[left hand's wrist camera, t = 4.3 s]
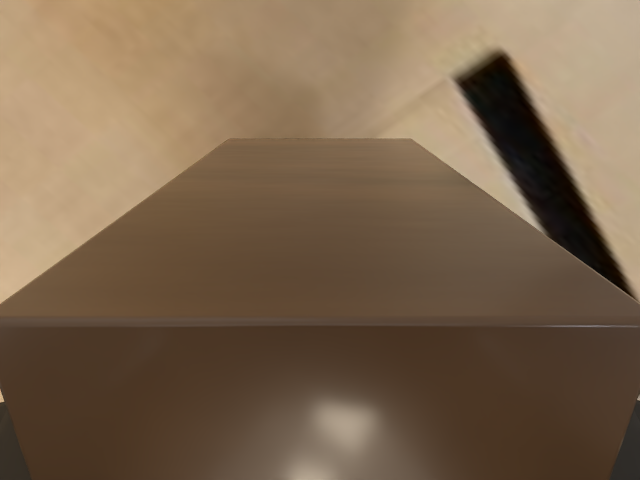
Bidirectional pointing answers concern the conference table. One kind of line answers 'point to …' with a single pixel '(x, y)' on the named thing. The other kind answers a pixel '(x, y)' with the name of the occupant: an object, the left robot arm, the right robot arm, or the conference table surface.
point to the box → (320, 331)
